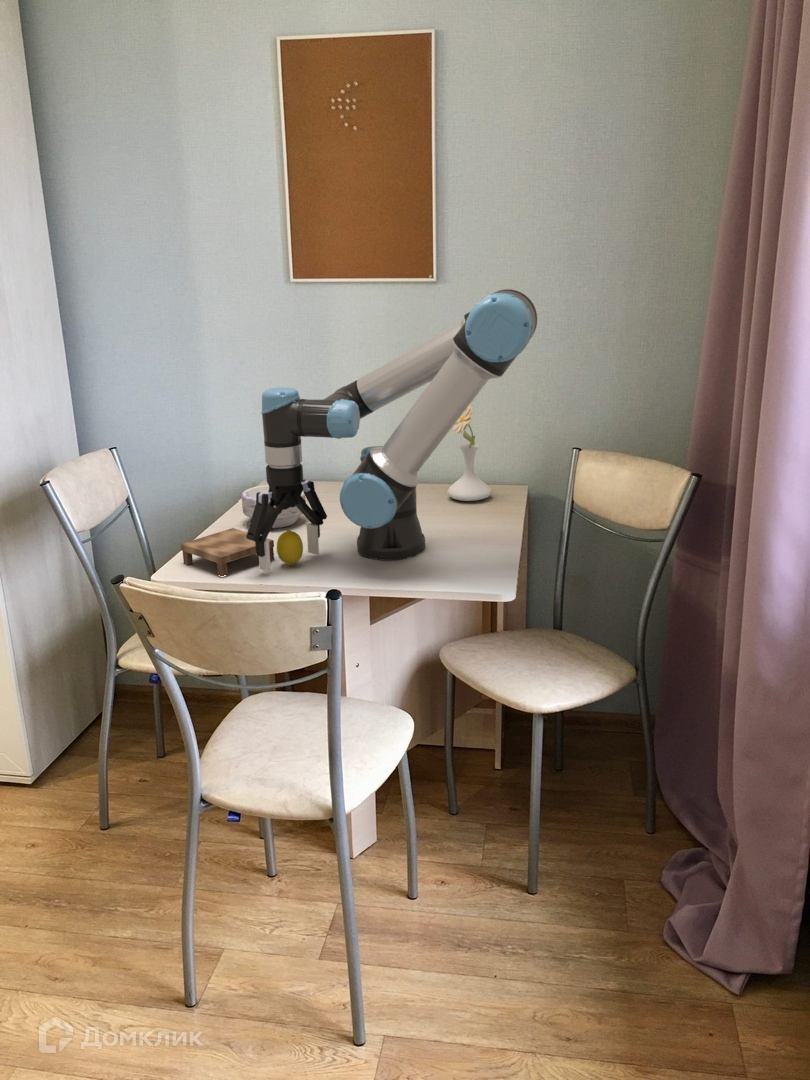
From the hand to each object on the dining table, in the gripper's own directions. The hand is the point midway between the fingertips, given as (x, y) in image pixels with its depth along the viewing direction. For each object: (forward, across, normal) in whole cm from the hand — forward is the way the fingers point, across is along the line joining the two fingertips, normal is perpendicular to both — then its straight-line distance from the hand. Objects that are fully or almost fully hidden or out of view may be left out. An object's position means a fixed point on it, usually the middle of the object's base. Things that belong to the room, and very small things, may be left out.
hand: (289, 561), depth 208 cm
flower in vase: (+1, -62, -1) cm, 62 cm away
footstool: (-1, 0, -12) cm, 12 cm away
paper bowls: (+1, -18, -26) cm, 32 cm away
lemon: (+1, 0, 0) cm, 1 cm away
